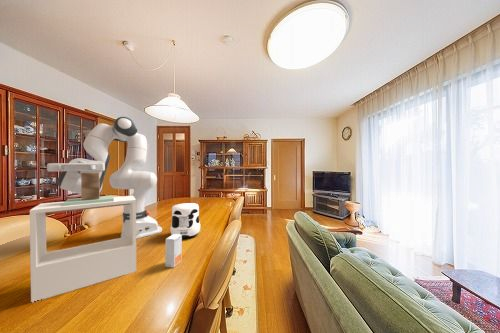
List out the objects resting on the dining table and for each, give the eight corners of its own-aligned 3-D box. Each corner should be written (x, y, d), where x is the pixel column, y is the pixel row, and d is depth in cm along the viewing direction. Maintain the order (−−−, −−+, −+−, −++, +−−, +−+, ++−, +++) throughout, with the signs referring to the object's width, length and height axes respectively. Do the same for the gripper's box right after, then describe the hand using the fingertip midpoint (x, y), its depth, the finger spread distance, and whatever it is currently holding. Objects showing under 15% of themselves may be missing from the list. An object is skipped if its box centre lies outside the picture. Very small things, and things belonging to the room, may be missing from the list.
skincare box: (174, 268, 78) (174, 239, 78) (165, 266, 79) (165, 238, 79) (182, 260, 84) (182, 234, 84) (173, 259, 85) (173, 233, 85)
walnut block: (99, 197, 75) (99, 172, 75) (99, 199, 71) (98, 172, 71) (83, 198, 72) (82, 172, 72) (81, 200, 68) (81, 173, 68)
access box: (133, 259, 85) (132, 193, 85) (136, 271, 76) (135, 197, 75) (41, 283, 68) (40, 200, 68) (31, 302, 59) (29, 207, 58)
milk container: (190, 228, 127) (190, 201, 127) (206, 234, 116) (205, 205, 116) (165, 235, 113) (164, 206, 113) (180, 243, 102) (180, 210, 102)
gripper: (50, 160, 88) (42, 160, 77) (105, 160, 101) (104, 160, 90) (50, 173, 88) (42, 175, 77) (105, 172, 101) (104, 173, 90)
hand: (76, 167), depth 84 cm, fingers open, 8 cm apart
